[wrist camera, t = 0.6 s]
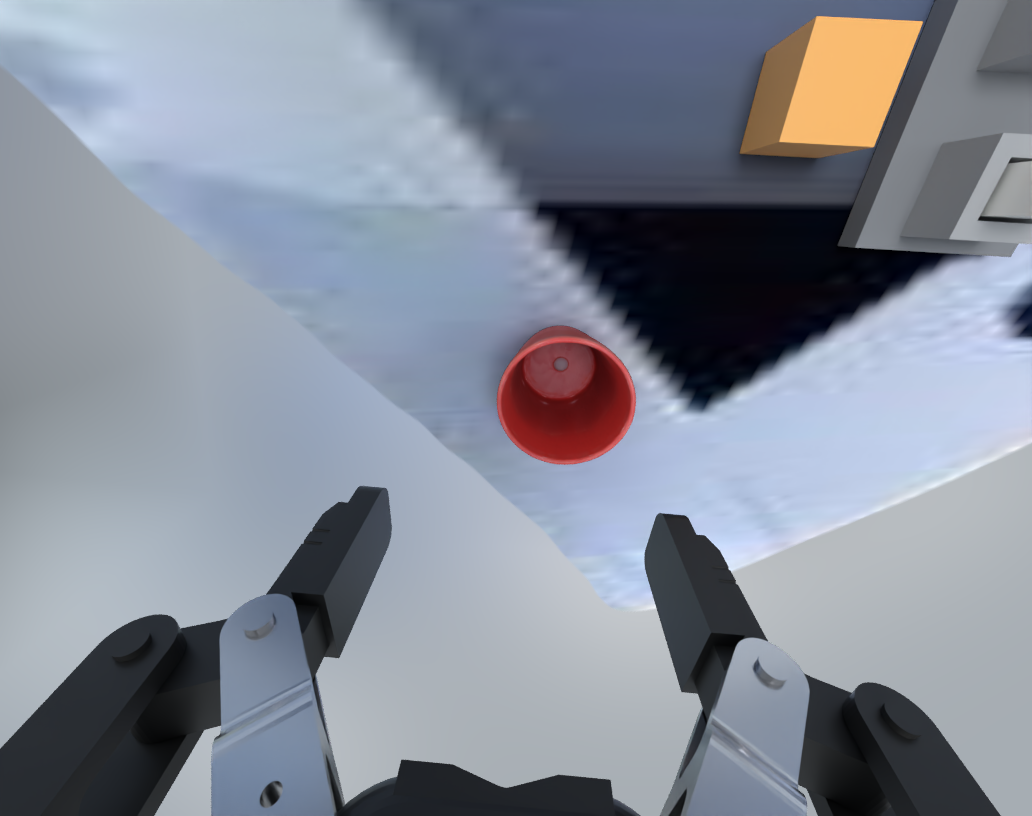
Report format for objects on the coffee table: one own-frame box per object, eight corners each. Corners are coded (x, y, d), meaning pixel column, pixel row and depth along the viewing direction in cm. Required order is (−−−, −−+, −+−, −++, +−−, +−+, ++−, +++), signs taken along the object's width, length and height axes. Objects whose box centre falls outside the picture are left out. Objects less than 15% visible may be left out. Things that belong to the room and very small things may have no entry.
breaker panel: (961, -66, 24) (1081, -145, 19) (1158, -57, 24) (1338, -135, 19) (837, 245, 32) (897, 252, 27) (984, 254, 32) (1073, 262, 27)
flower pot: (606, 295, 35) (628, 322, 26) (619, 401, 40) (642, 454, 31) (493, 320, 37) (479, 354, 28) (519, 420, 41) (514, 475, 33)
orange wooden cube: (766, 52, 27) (816, 16, 22) (852, 56, 27) (923, 21, 22) (739, 153, 30) (779, 142, 25) (818, 158, 30) (873, 147, 25)
